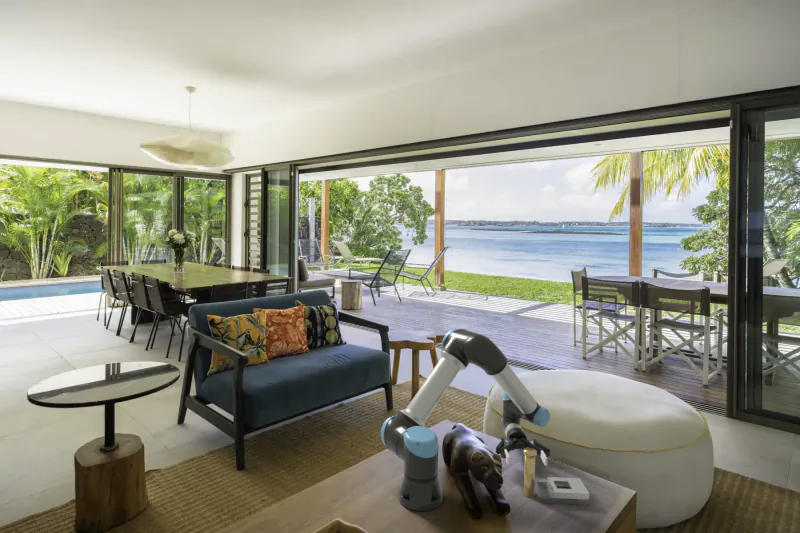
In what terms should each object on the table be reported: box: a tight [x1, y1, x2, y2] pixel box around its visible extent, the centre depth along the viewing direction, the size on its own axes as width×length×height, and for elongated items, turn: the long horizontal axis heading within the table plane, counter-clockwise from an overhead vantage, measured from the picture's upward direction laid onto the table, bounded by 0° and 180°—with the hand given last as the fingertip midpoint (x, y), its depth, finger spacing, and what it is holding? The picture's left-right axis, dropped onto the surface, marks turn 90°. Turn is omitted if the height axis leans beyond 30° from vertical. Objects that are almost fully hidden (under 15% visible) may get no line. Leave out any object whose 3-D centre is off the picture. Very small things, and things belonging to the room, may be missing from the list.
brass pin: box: [523, 447, 538, 498], centre depth 162 cm, size 4×4×16 cm
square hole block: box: [536, 476, 590, 506], centre depth 161 cm, size 15×10×4 cm, turn 87°
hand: (527, 461), depth 168 cm, fingers open, 13 cm apart
